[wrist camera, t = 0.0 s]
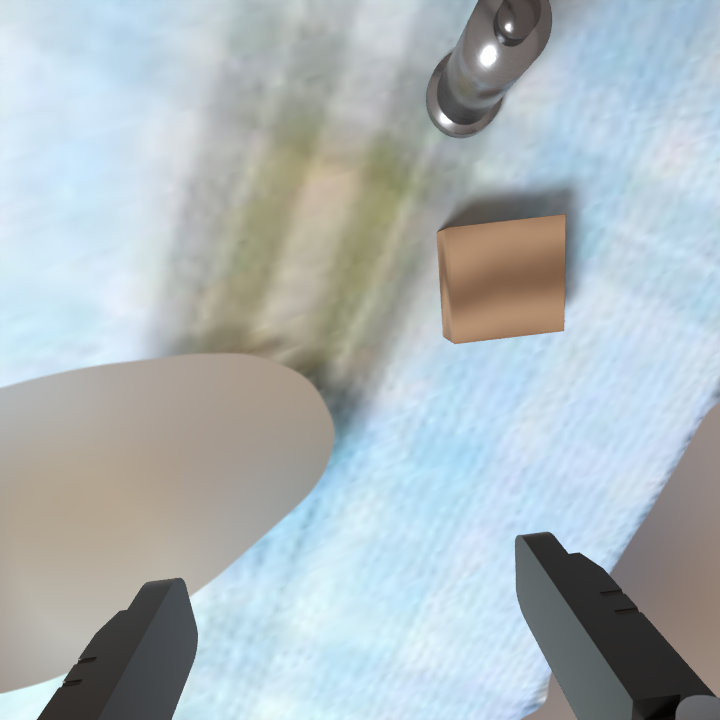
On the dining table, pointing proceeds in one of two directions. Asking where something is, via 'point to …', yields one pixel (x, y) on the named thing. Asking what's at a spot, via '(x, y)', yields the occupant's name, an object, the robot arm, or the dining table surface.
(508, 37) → the cylinder
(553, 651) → the robot arm
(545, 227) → the stand
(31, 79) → the dining table surface
